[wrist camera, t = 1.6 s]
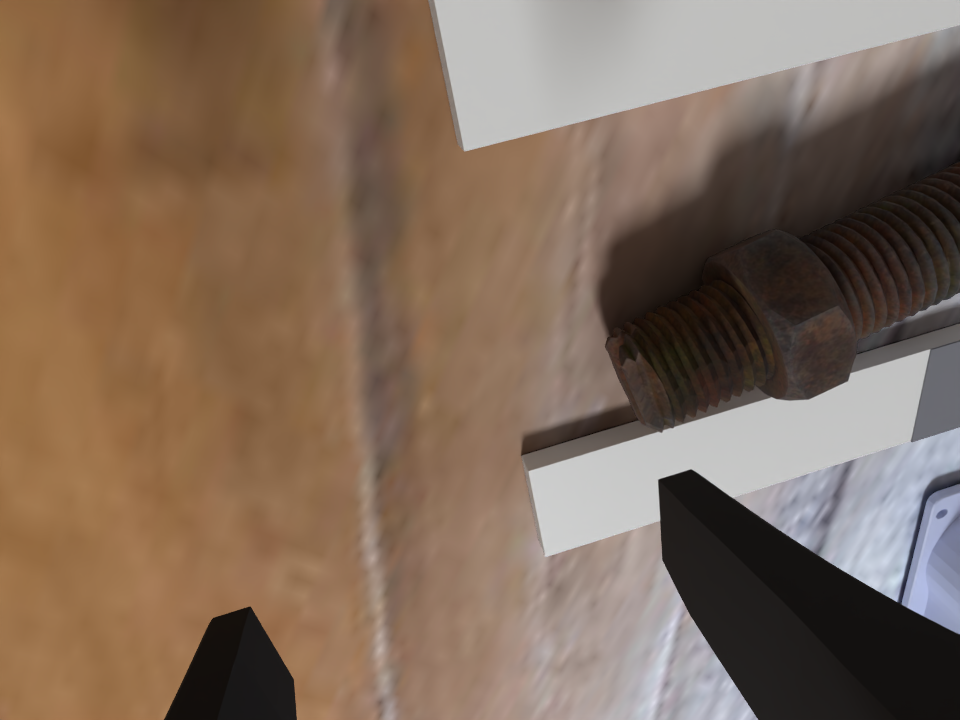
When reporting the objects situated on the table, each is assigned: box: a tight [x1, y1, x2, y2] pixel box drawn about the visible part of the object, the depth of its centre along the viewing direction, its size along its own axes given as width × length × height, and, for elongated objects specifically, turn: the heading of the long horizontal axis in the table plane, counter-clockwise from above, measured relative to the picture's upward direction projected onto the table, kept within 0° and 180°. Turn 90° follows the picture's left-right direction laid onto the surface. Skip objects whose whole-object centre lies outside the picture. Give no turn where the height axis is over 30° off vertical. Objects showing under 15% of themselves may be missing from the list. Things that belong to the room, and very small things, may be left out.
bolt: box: [605, 162, 960, 433], centre depth 18 cm, size 6×5×15 cm
